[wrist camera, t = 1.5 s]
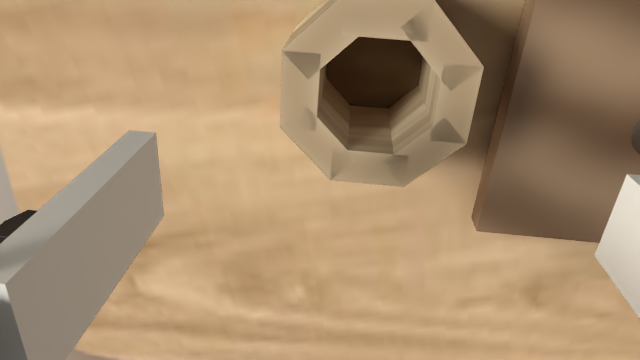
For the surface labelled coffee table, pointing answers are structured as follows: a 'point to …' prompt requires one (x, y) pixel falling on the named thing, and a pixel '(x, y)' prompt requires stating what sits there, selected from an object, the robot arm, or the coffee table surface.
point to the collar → (370, 122)
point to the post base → (564, 122)
